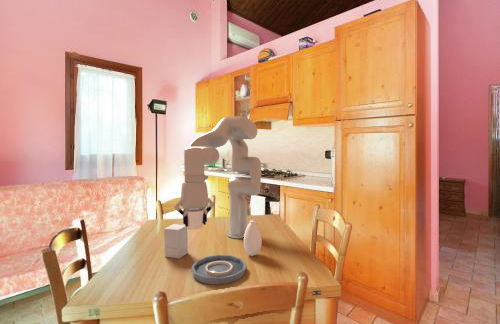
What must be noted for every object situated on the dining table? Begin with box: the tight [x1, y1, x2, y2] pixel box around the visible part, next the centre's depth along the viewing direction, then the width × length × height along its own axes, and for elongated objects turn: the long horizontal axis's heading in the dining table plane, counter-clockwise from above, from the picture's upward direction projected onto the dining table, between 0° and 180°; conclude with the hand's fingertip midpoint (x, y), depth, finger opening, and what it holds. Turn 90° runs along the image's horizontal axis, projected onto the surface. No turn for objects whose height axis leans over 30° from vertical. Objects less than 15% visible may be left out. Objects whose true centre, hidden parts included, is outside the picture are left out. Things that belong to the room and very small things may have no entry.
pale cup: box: [187, 208, 204, 230], centre depth 105 cm, size 7×7×7 cm
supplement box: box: [163, 223, 189, 259], centre depth 118 cm, size 7×7×13 cm
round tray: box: [191, 254, 247, 286], centre depth 103 cm, size 20×20×2 cm
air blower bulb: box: [243, 215, 263, 257], centre depth 118 cm, size 8×8×18 cm
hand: (195, 224), depth 105 cm, fingers closed on pale cup, 6 cm apart
